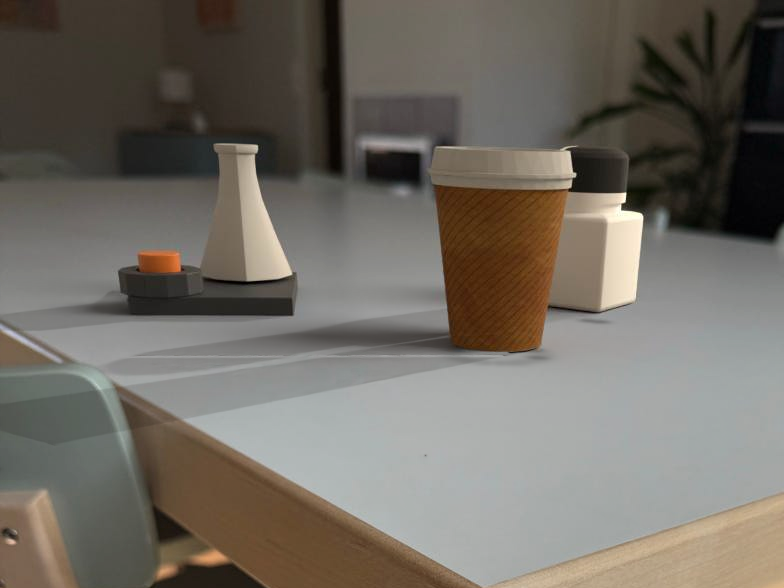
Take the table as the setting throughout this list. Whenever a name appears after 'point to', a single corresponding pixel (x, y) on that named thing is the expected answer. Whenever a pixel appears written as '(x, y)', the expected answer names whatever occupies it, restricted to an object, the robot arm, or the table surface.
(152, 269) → the button
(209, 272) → the flask
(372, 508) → the table surface
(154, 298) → the scale
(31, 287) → the table surface
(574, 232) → the medicine bottle
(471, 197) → the disposable coffee cup
